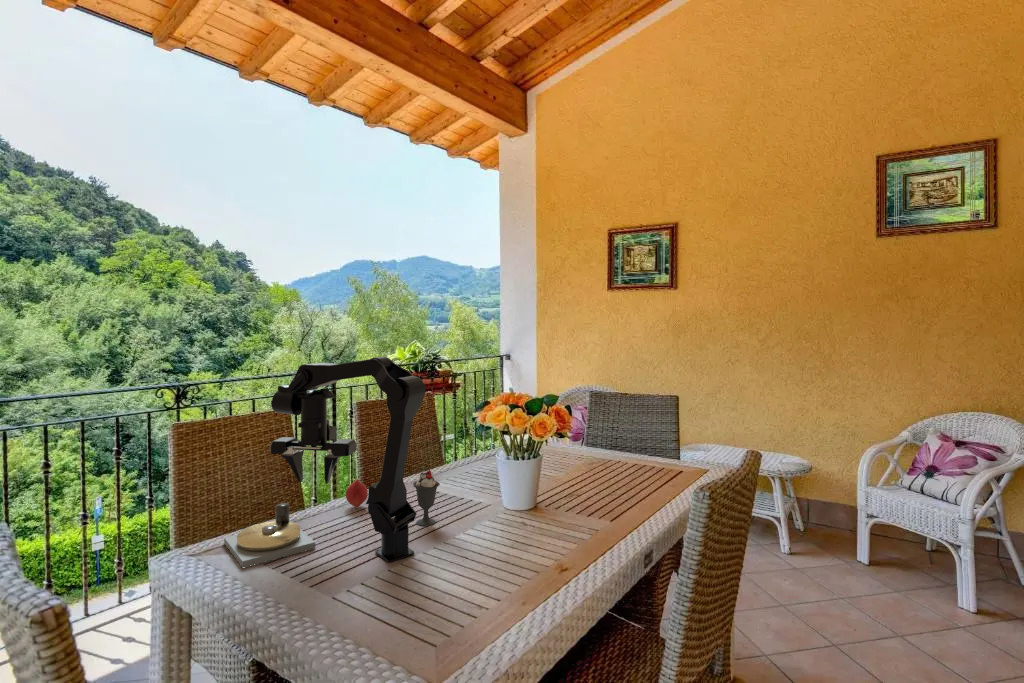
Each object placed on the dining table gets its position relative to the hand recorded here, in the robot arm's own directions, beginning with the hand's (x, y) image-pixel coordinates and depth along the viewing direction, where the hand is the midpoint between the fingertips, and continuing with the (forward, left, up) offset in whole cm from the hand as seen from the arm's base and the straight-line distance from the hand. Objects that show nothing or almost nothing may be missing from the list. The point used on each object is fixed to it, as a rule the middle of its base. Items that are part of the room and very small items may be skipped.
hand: (313, 482), depth 125 cm
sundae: (-9, -25, -13) cm, 30 cm away
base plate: (+1, +10, -13) cm, 16 cm away
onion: (+12, -16, -13) cm, 24 cm away
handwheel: (+1, +10, -11) cm, 15 cm away
